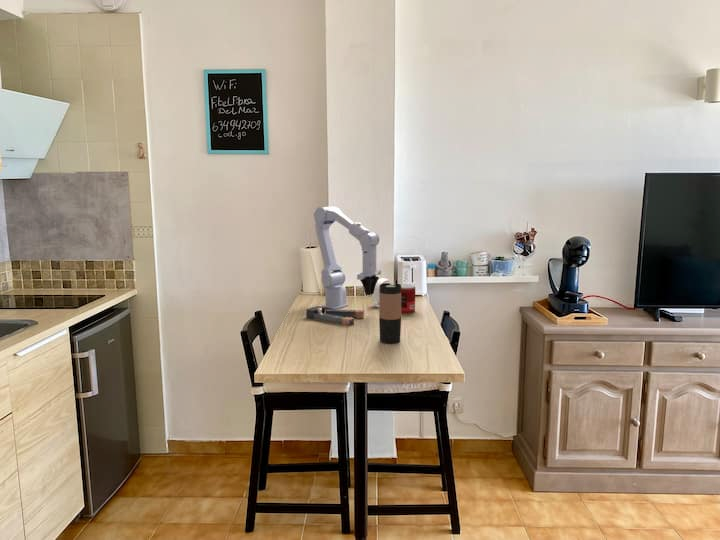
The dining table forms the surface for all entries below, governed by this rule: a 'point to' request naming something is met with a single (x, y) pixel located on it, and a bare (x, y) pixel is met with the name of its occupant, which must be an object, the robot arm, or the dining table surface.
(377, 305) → the headphone stand
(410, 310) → the canned food
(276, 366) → the dining table surface
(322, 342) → the dining table surface
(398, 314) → the travel mug
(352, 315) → the tong arm
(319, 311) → the tongs base
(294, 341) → the dining table surface
